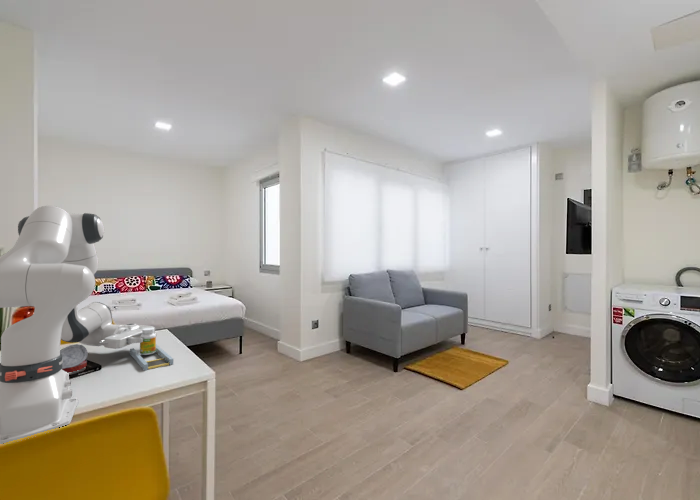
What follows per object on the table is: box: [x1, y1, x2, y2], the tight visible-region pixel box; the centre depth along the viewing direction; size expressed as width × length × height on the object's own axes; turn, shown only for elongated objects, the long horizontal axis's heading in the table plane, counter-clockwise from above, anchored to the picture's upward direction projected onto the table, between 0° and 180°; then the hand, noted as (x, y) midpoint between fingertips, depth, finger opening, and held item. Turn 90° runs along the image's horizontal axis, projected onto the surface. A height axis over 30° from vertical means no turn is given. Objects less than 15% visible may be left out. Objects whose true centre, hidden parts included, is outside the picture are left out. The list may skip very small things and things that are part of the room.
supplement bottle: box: [139, 327, 157, 356], centre depth 131 cm, size 5×5×10 cm
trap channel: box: [129, 344, 174, 371], centre depth 127 cm, size 24×9×2 cm, turn 44°
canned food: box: [60, 344, 89, 372], centre depth 113 cm, size 11×10×10 cm
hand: (149, 337), depth 131 cm, fingers closed on supplement bottle, 5 cm apart
